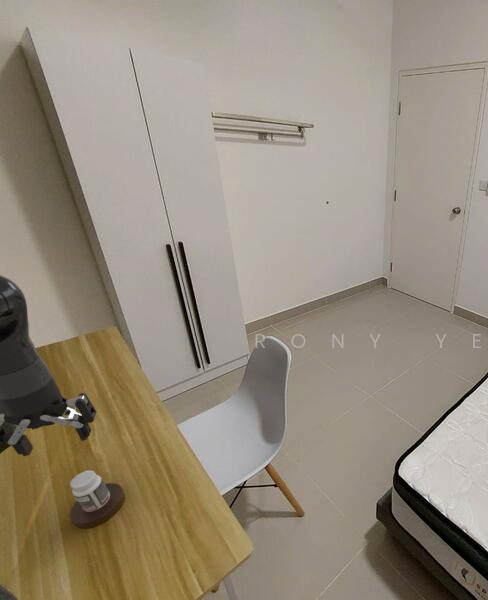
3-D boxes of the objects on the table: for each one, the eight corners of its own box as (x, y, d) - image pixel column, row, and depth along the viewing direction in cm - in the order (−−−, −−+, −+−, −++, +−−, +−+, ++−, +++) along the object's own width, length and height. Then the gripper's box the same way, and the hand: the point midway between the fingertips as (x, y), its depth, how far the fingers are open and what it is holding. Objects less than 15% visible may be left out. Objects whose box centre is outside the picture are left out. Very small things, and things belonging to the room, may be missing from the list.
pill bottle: (106, 487, 76) (93, 464, 72) (114, 499, 74) (100, 476, 70) (79, 503, 73) (64, 480, 69) (87, 517, 70) (71, 493, 67)
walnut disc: (67, 536, 69) (64, 531, 68) (79, 498, 76) (76, 493, 75) (121, 516, 73) (118, 511, 72) (127, 482, 80) (125, 476, 79)
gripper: (80, 361, 65) (107, 420, 72) (-26, 380, 58) (16, 442, 66) (68, 385, 59) (99, 446, 66) (-50, 409, 52) (-2, 474, 60)
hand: (58, 444), depth 66 cm, fingers open, 8 cm apart
